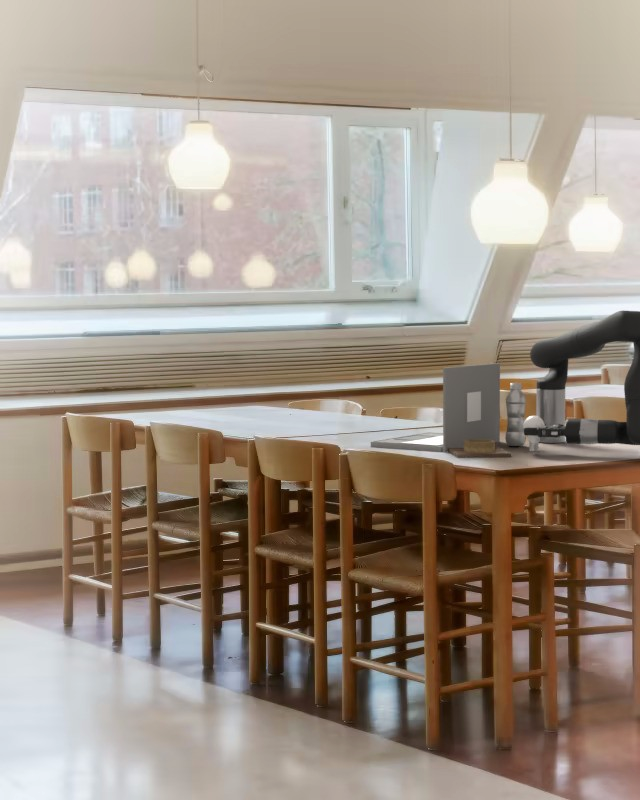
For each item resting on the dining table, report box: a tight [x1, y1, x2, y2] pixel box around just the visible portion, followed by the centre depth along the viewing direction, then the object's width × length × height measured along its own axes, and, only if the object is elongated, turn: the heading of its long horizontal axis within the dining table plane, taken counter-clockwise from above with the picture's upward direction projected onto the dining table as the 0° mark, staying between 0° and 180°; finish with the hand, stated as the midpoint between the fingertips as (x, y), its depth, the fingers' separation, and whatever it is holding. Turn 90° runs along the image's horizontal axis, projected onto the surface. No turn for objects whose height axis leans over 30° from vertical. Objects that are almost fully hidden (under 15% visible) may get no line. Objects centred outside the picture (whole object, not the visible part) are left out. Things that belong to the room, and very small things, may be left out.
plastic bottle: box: [505, 382, 527, 448], centre depth 410 cm, size 6×7×20 cm
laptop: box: [370, 362, 501, 453], centre depth 418 cm, size 35×28×26 cm
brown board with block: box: [448, 439, 512, 458], centre depth 391 cm, size 16×16×4 cm
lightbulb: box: [523, 415, 545, 453], centre depth 389 cm, size 6×6×11 cm
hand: (526, 430), depth 389 cm, fingers closed on lightbulb, 6 cm apart
